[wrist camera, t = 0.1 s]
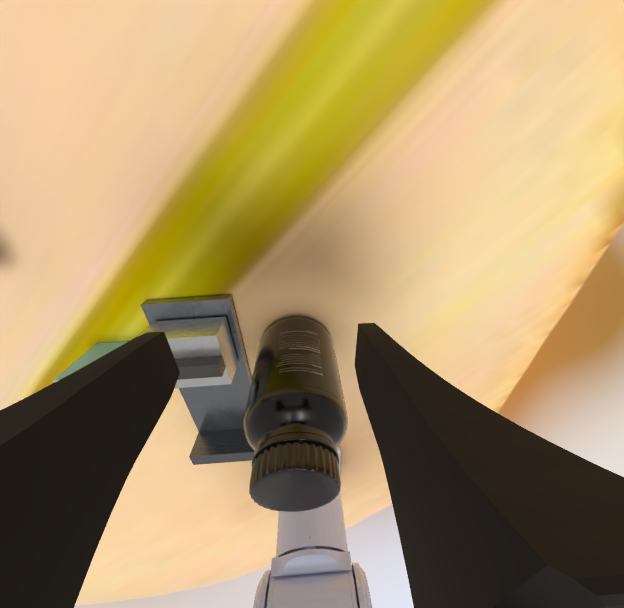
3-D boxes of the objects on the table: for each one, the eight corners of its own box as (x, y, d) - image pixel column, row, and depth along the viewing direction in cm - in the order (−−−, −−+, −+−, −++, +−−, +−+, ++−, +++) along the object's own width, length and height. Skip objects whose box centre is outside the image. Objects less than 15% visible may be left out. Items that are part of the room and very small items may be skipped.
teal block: (168, 371, 24) (142, 410, 20) (117, 374, 24) (81, 415, 20) (153, 338, 22) (120, 375, 18) (97, 342, 22) (53, 380, 18)
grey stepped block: (238, 362, 22) (228, 393, 19) (173, 367, 22) (151, 399, 19) (225, 316, 20) (211, 344, 17) (152, 321, 20) (124, 350, 17)
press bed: (263, 428, 29) (259, 459, 26) (204, 433, 29) (193, 464, 26) (231, 294, 20) (218, 316, 17) (146, 300, 20) (118, 323, 17)
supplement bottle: (246, 350, 23) (201, 501, 12) (289, 300, 20) (278, 436, 10) (303, 381, 25) (305, 531, 15) (347, 339, 23) (388, 483, 12)
